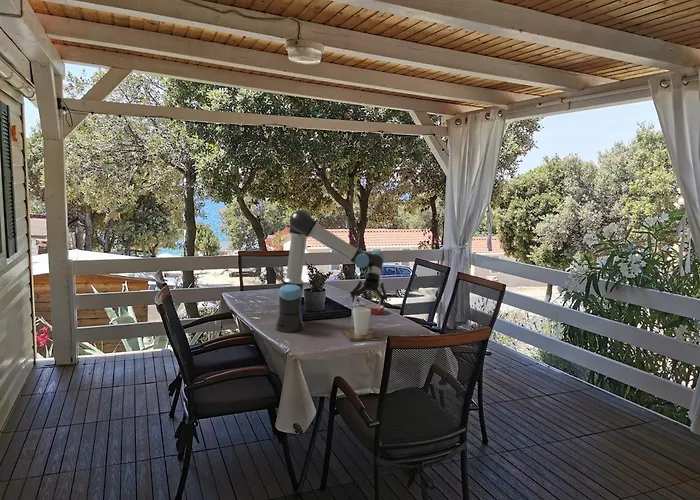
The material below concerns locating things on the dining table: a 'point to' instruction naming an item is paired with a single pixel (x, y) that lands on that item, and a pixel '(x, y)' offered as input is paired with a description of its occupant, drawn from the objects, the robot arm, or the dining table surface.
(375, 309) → the frying pan
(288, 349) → the dining table surface
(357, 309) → the foam cup
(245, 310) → the dining table surface
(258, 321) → the dining table surface
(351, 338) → the walnut board
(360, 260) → the robot arm
